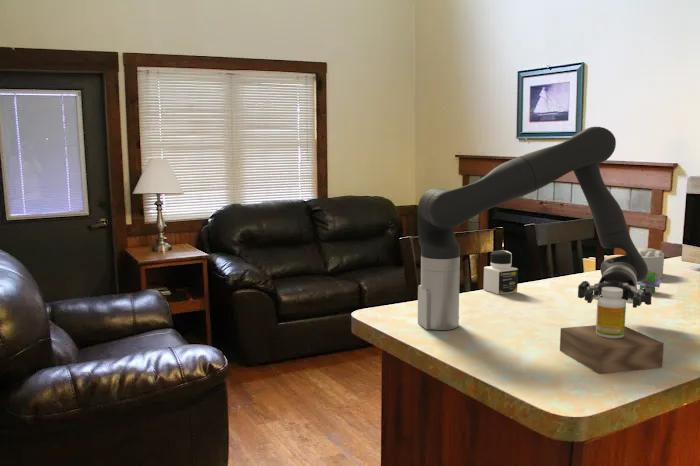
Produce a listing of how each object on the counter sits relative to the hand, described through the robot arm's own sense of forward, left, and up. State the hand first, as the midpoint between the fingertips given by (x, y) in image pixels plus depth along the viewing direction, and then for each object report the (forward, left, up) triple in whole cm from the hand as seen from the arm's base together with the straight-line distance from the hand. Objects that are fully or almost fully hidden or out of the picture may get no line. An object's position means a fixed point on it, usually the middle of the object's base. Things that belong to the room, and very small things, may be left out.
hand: (611, 300), depth 128 cm
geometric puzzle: (+45, +47, -13) cm, 66 cm away
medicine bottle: (+5, +60, -13) cm, 61 cm away
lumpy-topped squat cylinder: (+60, +67, -13) cm, 91 cm away
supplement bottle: (+1, +1, -8) cm, 8 cm away
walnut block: (0, +1, -12) cm, 13 cm away
